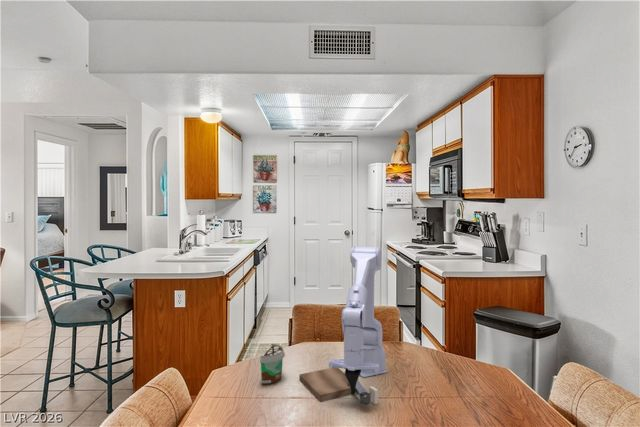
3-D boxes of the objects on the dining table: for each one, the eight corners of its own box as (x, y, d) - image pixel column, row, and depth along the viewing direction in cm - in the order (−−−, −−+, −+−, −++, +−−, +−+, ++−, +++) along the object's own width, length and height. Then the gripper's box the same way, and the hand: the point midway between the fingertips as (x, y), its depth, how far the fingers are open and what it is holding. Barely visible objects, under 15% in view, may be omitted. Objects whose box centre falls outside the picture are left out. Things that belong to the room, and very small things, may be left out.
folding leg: (345, 382, 131) (345, 374, 130) (355, 380, 131) (355, 373, 131) (361, 405, 116) (361, 396, 116) (372, 403, 117) (372, 395, 117)
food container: (278, 389, 131) (278, 357, 130) (260, 387, 132) (259, 356, 132) (289, 372, 143) (289, 344, 142) (272, 371, 144) (272, 343, 144)
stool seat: (336, 372, 143) (336, 366, 143) (360, 391, 128) (360, 385, 128) (299, 380, 137) (299, 374, 137) (320, 401, 122) (320, 395, 122)
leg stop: (372, 399, 124) (372, 386, 124) (378, 403, 121) (378, 390, 121) (369, 400, 123) (369, 386, 123) (374, 404, 121) (374, 391, 121)
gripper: (326, 350, 119) (326, 396, 119) (376, 355, 115) (376, 403, 115) (331, 342, 126) (331, 386, 126) (379, 346, 122) (379, 391, 122)
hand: (353, 393), depth 121 cm, fingers closed, pressing on folding leg
